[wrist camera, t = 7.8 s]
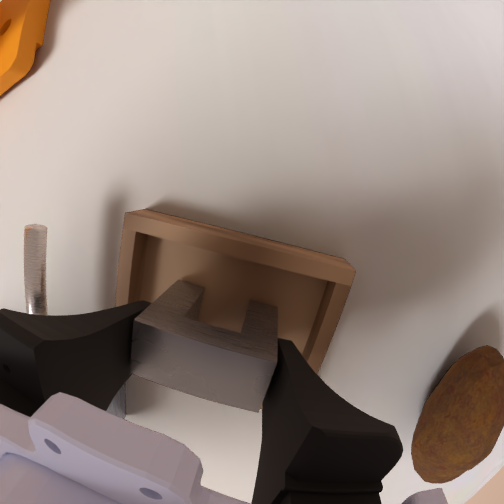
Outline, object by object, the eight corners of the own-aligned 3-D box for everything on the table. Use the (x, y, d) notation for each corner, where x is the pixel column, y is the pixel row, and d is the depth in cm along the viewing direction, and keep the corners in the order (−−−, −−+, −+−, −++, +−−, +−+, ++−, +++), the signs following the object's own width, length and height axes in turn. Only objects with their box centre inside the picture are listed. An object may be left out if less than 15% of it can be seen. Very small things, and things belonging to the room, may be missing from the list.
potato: (390, 456, 17) (411, 521, 10) (402, 344, 15) (454, 421, 8) (460, 430, 16) (490, 483, 9) (487, 315, 14) (551, 364, 7)
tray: (129, 346, 16) (114, 363, 14) (144, 209, 14) (125, 212, 12) (296, 392, 16) (297, 415, 14) (345, 259, 14) (356, 271, 12)
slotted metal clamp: (171, 321, 14) (130, 372, 10) (178, 279, 14) (133, 319, 9) (265, 348, 14) (258, 412, 10) (278, 306, 14) (277, 362, 9)
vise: (55, 386, 18) (15, 427, 12) (46, 206, 15) (-27, 218, 9) (126, 422, 18) (93, 475, 12) (135, 230, 14) (63, 255, 9)
